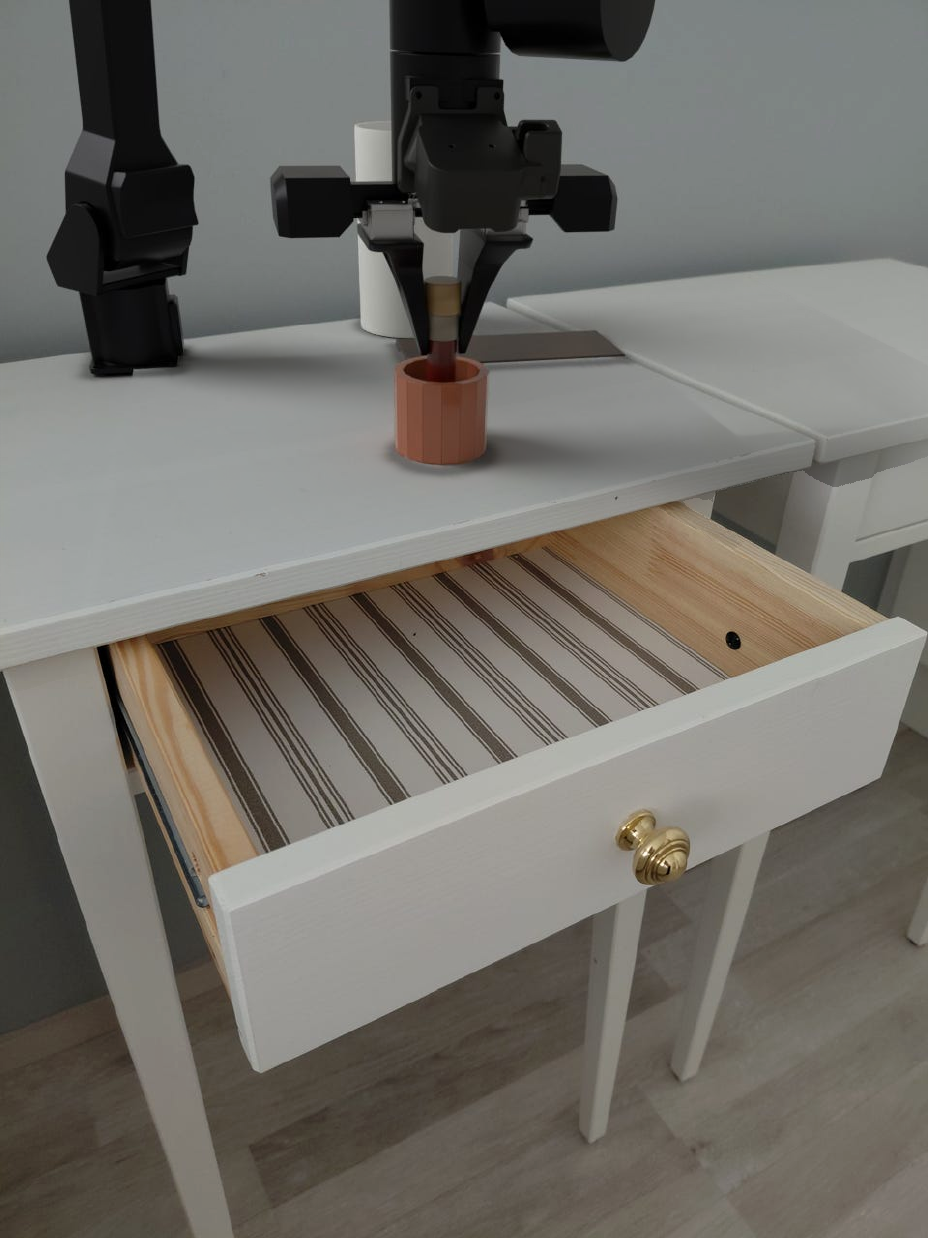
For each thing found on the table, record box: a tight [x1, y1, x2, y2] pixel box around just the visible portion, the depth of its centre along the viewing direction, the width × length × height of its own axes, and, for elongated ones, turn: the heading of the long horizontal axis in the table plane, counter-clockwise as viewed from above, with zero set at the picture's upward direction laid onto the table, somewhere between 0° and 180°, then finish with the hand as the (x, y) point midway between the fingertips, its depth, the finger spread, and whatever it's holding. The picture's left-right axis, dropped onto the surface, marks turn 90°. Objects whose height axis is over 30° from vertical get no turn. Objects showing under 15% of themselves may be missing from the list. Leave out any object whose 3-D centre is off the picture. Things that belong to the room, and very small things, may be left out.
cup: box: [353, 120, 454, 339], centre depth 80 cm, size 8×8×16 cm
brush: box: [424, 276, 462, 383], centre depth 57 cm, size 2×2×10 cm
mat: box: [395, 329, 626, 364], centre depth 78 cm, size 18×7×1 cm, turn 103°
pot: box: [393, 356, 490, 466], centre depth 59 cm, size 6×6×6 cm
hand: (441, 352), depth 56 cm, fingers closed on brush, 2 cm apart
